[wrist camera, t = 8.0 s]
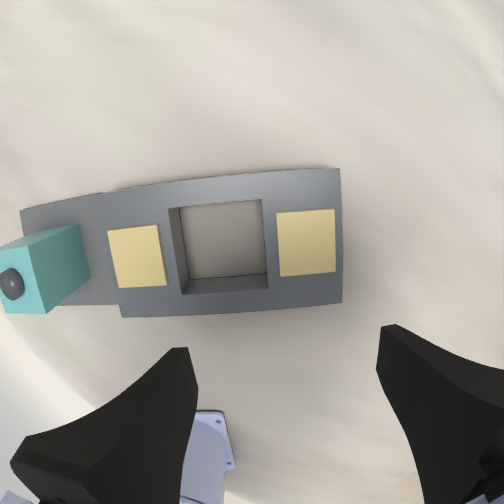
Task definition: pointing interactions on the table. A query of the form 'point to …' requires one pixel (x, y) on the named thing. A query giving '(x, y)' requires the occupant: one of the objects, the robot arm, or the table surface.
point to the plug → (42, 269)
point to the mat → (88, 217)
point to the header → (226, 288)
